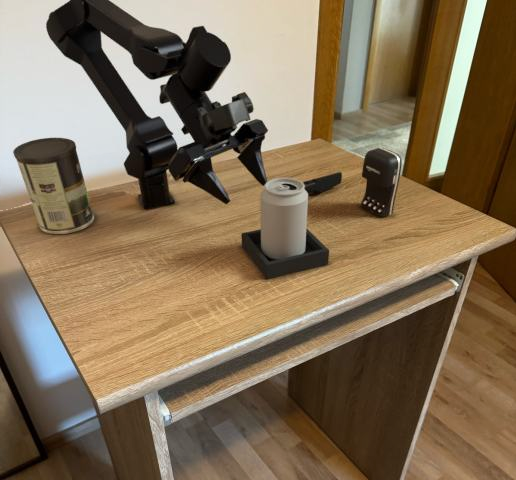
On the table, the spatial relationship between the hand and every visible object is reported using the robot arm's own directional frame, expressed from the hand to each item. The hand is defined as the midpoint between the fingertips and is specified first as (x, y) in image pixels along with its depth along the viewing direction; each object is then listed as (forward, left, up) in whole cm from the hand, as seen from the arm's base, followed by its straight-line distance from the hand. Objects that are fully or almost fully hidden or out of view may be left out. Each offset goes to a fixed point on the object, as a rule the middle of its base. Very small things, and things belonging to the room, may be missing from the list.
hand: (247, 193), depth 81 cm
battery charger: (-1, +27, -9) cm, 28 cm away
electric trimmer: (-13, +19, -9) cm, 24 cm away
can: (+7, +4, -9) cm, 12 cm away
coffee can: (-21, -29, -9) cm, 37 cm away
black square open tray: (+7, +4, -9) cm, 12 cm away
